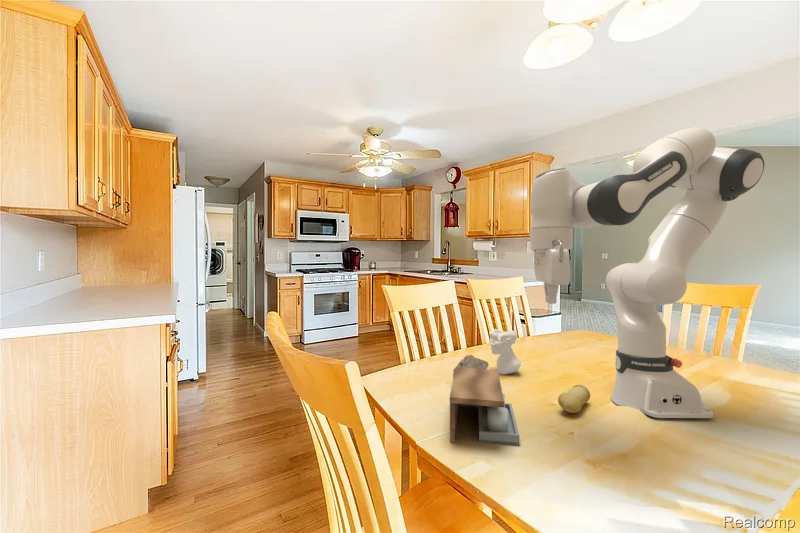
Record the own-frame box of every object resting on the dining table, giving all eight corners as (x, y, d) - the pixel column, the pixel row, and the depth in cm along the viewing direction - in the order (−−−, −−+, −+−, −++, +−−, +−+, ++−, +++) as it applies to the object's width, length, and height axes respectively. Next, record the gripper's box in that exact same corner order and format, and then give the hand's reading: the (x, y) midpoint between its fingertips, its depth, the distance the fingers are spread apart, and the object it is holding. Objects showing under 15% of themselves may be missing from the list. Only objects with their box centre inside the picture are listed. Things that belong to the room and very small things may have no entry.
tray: (511, 412, 92) (511, 403, 92) (519, 445, 75) (519, 435, 75) (478, 409, 94) (478, 401, 94) (479, 441, 77) (479, 431, 77)
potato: (570, 399, 101) (570, 381, 101) (591, 404, 98) (591, 385, 98) (553, 415, 91) (553, 395, 91) (576, 421, 87) (576, 401, 87)
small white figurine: (526, 376, 121) (526, 331, 121) (500, 381, 116) (500, 334, 116) (505, 368, 130) (506, 327, 130) (480, 372, 125) (481, 329, 125)
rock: (462, 385, 104) (468, 351, 108) (448, 384, 110) (454, 351, 113) (493, 395, 109) (498, 361, 113) (479, 393, 115) (483, 361, 118)
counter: (497, 407, 95) (497, 369, 95) (503, 450, 74) (503, 401, 74) (455, 404, 98) (455, 367, 97) (449, 444, 76) (449, 397, 76)
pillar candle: (506, 428, 82) (506, 406, 82) (508, 437, 78) (508, 414, 78) (487, 426, 83) (487, 404, 83) (487, 435, 79) (487, 412, 79)
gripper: (578, 238, 71) (578, 309, 71) (556, 244, 91) (556, 298, 91) (544, 239, 72) (544, 308, 72) (530, 244, 92) (529, 298, 92)
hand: (550, 303), depth 82 cm, fingers closed
